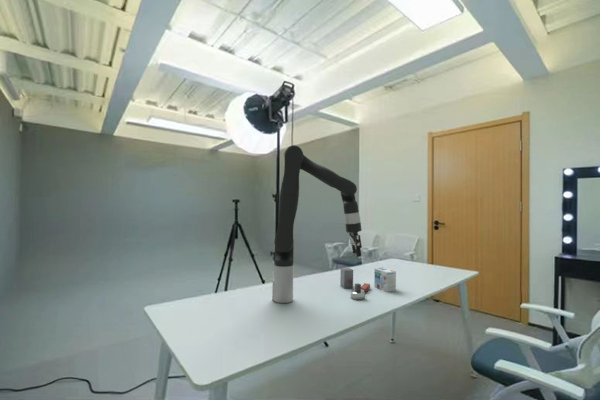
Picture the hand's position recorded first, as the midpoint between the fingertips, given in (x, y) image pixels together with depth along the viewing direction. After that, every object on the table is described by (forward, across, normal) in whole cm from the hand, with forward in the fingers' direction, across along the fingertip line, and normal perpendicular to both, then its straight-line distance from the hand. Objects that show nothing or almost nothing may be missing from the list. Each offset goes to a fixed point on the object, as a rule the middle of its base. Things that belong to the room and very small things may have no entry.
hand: (357, 254), depth 140 cm
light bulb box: (+25, -19, +17) cm, 36 cm away
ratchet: (+23, -10, +2) cm, 25 cm away
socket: (+22, -23, -4) cm, 32 cm away
